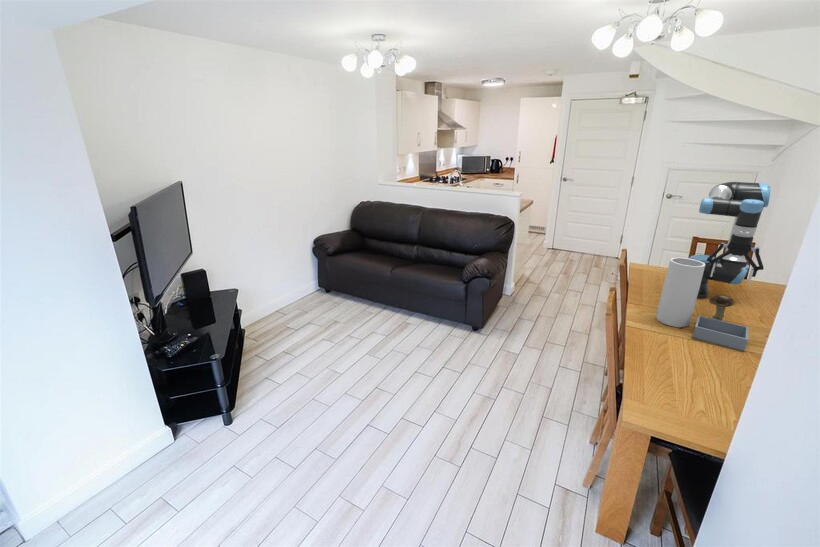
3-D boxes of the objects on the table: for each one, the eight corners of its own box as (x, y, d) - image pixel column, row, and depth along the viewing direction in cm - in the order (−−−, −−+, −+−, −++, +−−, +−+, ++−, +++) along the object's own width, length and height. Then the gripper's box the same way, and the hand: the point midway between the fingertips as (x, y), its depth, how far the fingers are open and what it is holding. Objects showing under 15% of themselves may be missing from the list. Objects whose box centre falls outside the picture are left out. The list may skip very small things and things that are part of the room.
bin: (695, 326, 188) (698, 315, 186) (744, 338, 177) (748, 326, 175) (691, 338, 177) (695, 326, 175) (744, 352, 166) (748, 339, 164)
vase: (686, 318, 196) (702, 259, 185) (692, 330, 184) (709, 268, 173) (653, 313, 202) (667, 255, 191) (657, 324, 189) (672, 264, 179)
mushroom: (730, 329, 184) (739, 301, 179) (710, 328, 186) (718, 299, 181) (719, 321, 193) (728, 293, 188) (700, 319, 195) (708, 292, 190)
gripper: (707, 232, 176) (695, 275, 183) (781, 241, 161) (765, 288, 168) (708, 229, 181) (697, 271, 188) (780, 237, 166) (764, 283, 174)
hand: (729, 279), depth 178 cm, fingers open, 13 cm apart
